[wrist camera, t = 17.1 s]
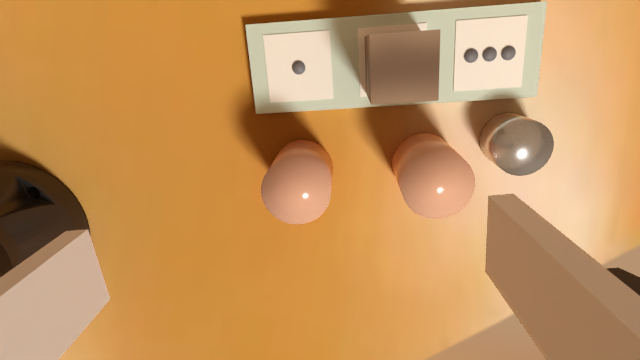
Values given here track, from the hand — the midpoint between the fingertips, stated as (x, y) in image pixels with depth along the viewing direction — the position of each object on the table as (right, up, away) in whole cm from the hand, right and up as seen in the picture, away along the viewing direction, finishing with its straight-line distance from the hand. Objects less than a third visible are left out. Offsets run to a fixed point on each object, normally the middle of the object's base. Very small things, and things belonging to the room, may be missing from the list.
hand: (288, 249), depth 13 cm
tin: (+19, +6, +25) cm, 32 cm away
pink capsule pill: (+11, +4, +27) cm, 29 cm away
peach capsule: (-1, +4, +27) cm, 28 cm away
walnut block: (+8, +13, +22) cm, 27 cm away
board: (+8, +13, +23) cm, 28 cm away
